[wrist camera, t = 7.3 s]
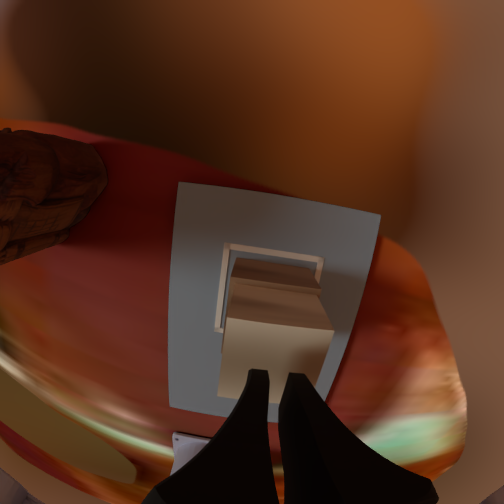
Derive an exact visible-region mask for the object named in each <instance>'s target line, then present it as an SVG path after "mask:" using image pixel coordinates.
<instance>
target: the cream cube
mask: <svg viewBox="0 0 504 504" xmlns="http://www.w3.org/2000/svg"><path fill="white" fill-rule="evenodd" d="M333 334H334V329H333V326H332V324H331V322H330V320H329V318H328V316H327V314H326V312H325V310H324V308H323V306H322V304H321V303H320V301H319V299H318V297H317V295H313V294H306V293H298V292H291V291H284V290H277V289H270V288H263V287H256V286H249V285H243V284H236V283H235V285H234V290H233V294H232V298H231V302H230V307H229V311H228V315H227V321H226V329H225V336H224V344H223V352H222V360H221V368H220V376H219V384H218V393H217V396H219V397H226V398H233V399H239V398H240V396H241V394H242V392H243V389H244V387H245V384H246V381H247V376H248V370H250V369H252V368H253V369H261V370H268V374H269V379H270V389H269V403H278V404H280V401H281V398H282V394H283V391H284V388H285V384H286V381H287V378H288V374H289V372H292V373H304V374H305V375H306V376H307V378H308V379H309V381H310V382H311V383H312V385H313V386H314V388H315V386H316V383H317V380H318V378H319V375H320V372H321V369H322V367H323V364H324V361H325V358H326V355H327V352H328V349H329V346H330V343H331V340H332V337H333Z"/></svg>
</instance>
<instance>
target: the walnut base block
mask: <svg viewBox="0 0 504 504" xmlns="http://www.w3.org/2000/svg"><path fill="white" fill-rule="evenodd" d="M235 283H236V284H243V285H249V286H256V287H263V288H270V289H277V290H284V291H291V292H298V293H306V294H313V295H317V297H318V299H319V298H320V294H321V290H322V289H321V287H320V286H319V284H318V282H317V281H316V279H315V277H314V276H313V274H312V272H311V270H310V269H309V268H305V267H298V266H291V265H284V264H277V263H270V262H264V261H257V260H250V259H244V258H237V257H236V260H235V263H234V266H233V269H232V273H231V276H230V283H229V291H228V298H227V306H226V314H225V322H224V331H223V339H222V347H221V353H222V352H223V344H224V336H225V329H226V321H227V315H228V311H229V307H230V302H231V298H232V294H233V290H234V285H235Z"/></svg>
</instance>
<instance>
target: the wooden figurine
mask: <svg viewBox="0 0 504 504" xmlns="http://www.w3.org/2000/svg"><path fill="white" fill-rule="evenodd" d="M107 184H108V178H107V170H106V168H105V166H104V164H103V162H102V159H101V157H100V156H99V155H98V153H97V152H96V150H95V148H94V146H92V145H90V144H87V143H83V142H80V141H76V140H71V139H67V138H63V137H59V136H56V135H50V134H43V133H37V132H33V131H28V130H17V131H14V132H12V131H11V128H4V129H3V130H1V131H0V265H2V264H5V263H8V262H10V261H13V260H15V259H19V258H21V257H24V256H27V255H30V254H32V253H35V252H37V251H40V250H43V249H45V248H49V247H51V246H55V245H57V244H59V243H61V242H63V241H64V240H65V239H66V238H68V236H69V228H70V227H71V226H73V225H75V224H77V223H78V222H79V221H81V220H82V219H83V218H84V217H85V216H86V215H87V214H88V212H89V210H90V205H91V204H92V203H93V202H94V201H95V200H96V198H97V197H98V196H99V195H100V194H101V192H102V191H103V189H104V188H105V186H106V185H107Z"/></svg>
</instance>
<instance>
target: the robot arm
mask: <svg viewBox="0 0 504 504" xmlns="http://www.w3.org/2000/svg"><path fill="white" fill-rule="evenodd" d="M269 389H270V379H269V374H268V370H261V369H253V368H252V369H250V370H248V376H247V381H246V384H245V387H244V389H243V392H242V394H241V396H240V398H239V400H238V402H237V404H236V405H235V407H234V409H233V410H232V412H231V413H230V415H229V417H228V418H227V420H226V421H225V422H224V424H223V425H222V426H221V428H220V429H219V430H218V432H217V433H216V434H215V435H214V436H213V438H212V439H208V438H202V437H197V436H192V435H187V434H182V433H178V432H174V433H173V435H172V437H173V448H174V458H175V460H174V463H173V467H172V471H171V474H170V476H169V477H168V478H166V479H165V480H163V481H162V482H160V483H159V484H157V485H156V486H154V488H153V489H152V490H151V491H150V492H149V494H148V495H147V496H146V498H145V499H144V500H143V502H142V503H141V504H279V500H278V496H277V491H276V487H275V481H274V475H273V469H272V463H271V455H270V447H269V437H268V405H269ZM278 431H279V439H280V447H281V455H282V462H283V470H284V504H436V503H437V502H438V500H439V497H438V495H437V493H436V490H435V488H434V486H433V484H432V482H431V480H430V479H428V478H426V477H423V476H420V475H418V474H415V473H413V472H410V471H408V470H406V469H404V468H402V467H400V466H398V465H396V464H394V463H393V462H391V461H389V460H388V459H386V458H384V457H383V456H381V455H380V454H378V453H377V452H375V451H374V450H373V449H371V448H370V447H369V446H367V445H366V444H365V443H363V442H362V441H361V440H360V439H359V438H358V437H357V436H355V435H354V434H353V433H352V432H351V431H350V430H349V429H348V428H347V427H346V426H345V425H344V424H343V423H342V422H341V421H340V420H339V419H338V418H337V416H336V415H335V414H334V413H333V412H332V410H331V409H330V408H329V407H328V405H327V404H326V403H325V402H324V400H323V399H322V398H321V396H320V395H319V393H318V392H317V391H316V389H315V388H314V386H313V385H312V383H311V382H310V381H309V379H308V378H307V376H306V375H305V374H304V373H292V372H289V374H288V378H287V381H286V384H285V388H284V391H283V394H282V398H281V401H280V404H279V407H278ZM0 504H45V503H43V502H41V501H40V500H38V499H37V498H35V497H34V496H32V495H31V494H29V493H28V492H27V490H26V489H25V488H24V487H23V486H22V485H21V484H20V483H18V482H17V481H16V480H15V479H14V478H12V477H11V476H10V475H9V474H7V473H6V472H5V471H4V470H3V469H1V468H0ZM480 504H504V486H502V487H501V488H499V489H498V490H497V491H495V492H494V493H492V494H491V495H490V496H488V497H487V498H486V499H485V500H483V501H482V502H481V503H480Z"/></svg>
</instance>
